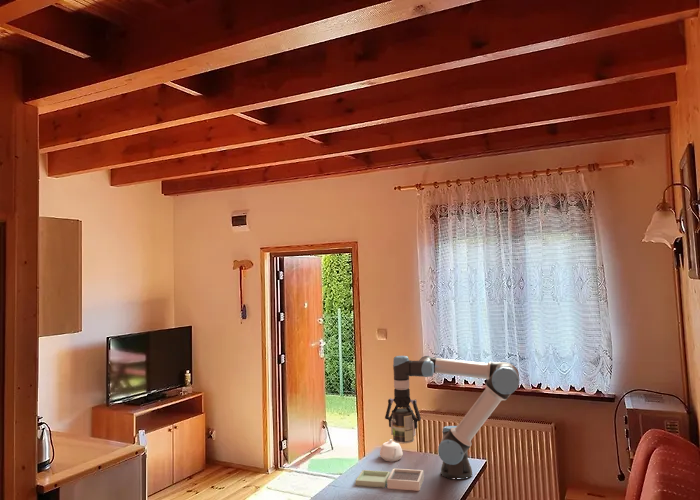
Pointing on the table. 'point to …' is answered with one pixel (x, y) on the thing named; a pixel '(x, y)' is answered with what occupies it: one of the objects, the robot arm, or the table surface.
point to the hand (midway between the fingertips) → (403, 434)
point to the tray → (372, 478)
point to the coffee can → (402, 426)
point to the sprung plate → (406, 476)
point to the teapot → (391, 451)
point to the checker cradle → (405, 483)
